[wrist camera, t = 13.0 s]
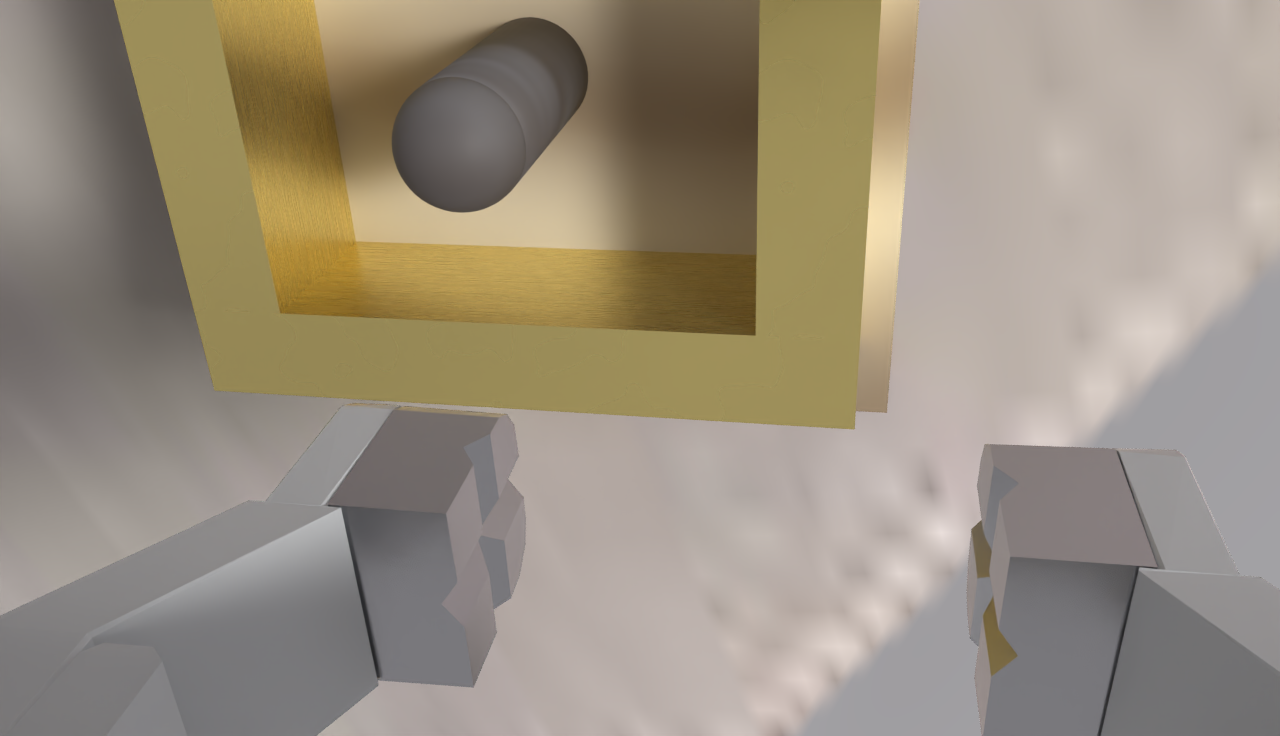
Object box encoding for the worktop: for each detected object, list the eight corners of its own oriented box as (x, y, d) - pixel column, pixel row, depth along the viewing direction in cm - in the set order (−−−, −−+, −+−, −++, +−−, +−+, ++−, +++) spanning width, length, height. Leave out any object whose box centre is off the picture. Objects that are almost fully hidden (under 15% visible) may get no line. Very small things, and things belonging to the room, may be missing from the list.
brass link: (182, -224, 22) (56, -220, 19) (893, -257, 20) (898, -259, 16) (294, 312, 28) (214, 390, 25) (856, 338, 26) (854, 429, 22)
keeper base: (158, -335, 23) (-151, -372, 16) (943, -386, 20) (982, -458, 13) (300, 341, 31) (132, 516, 24) (885, 372, 28) (891, 579, 21)
